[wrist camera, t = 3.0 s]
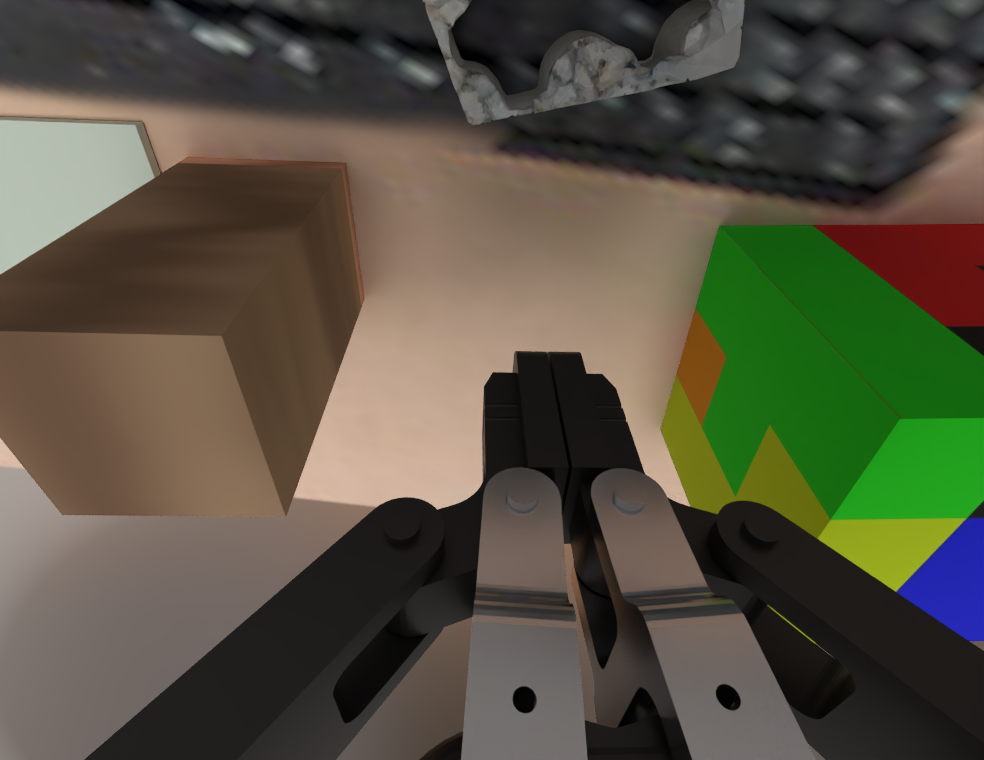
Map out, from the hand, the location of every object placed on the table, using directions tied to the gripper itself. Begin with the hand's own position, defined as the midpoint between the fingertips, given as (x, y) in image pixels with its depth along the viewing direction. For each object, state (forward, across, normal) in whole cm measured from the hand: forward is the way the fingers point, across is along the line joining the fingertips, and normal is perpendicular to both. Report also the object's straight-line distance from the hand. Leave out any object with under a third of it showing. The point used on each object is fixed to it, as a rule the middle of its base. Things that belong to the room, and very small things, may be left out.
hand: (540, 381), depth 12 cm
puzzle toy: (+8, -12, +4) cm, 15 cm away
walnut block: (+8, +8, 0) cm, 11 cm away
